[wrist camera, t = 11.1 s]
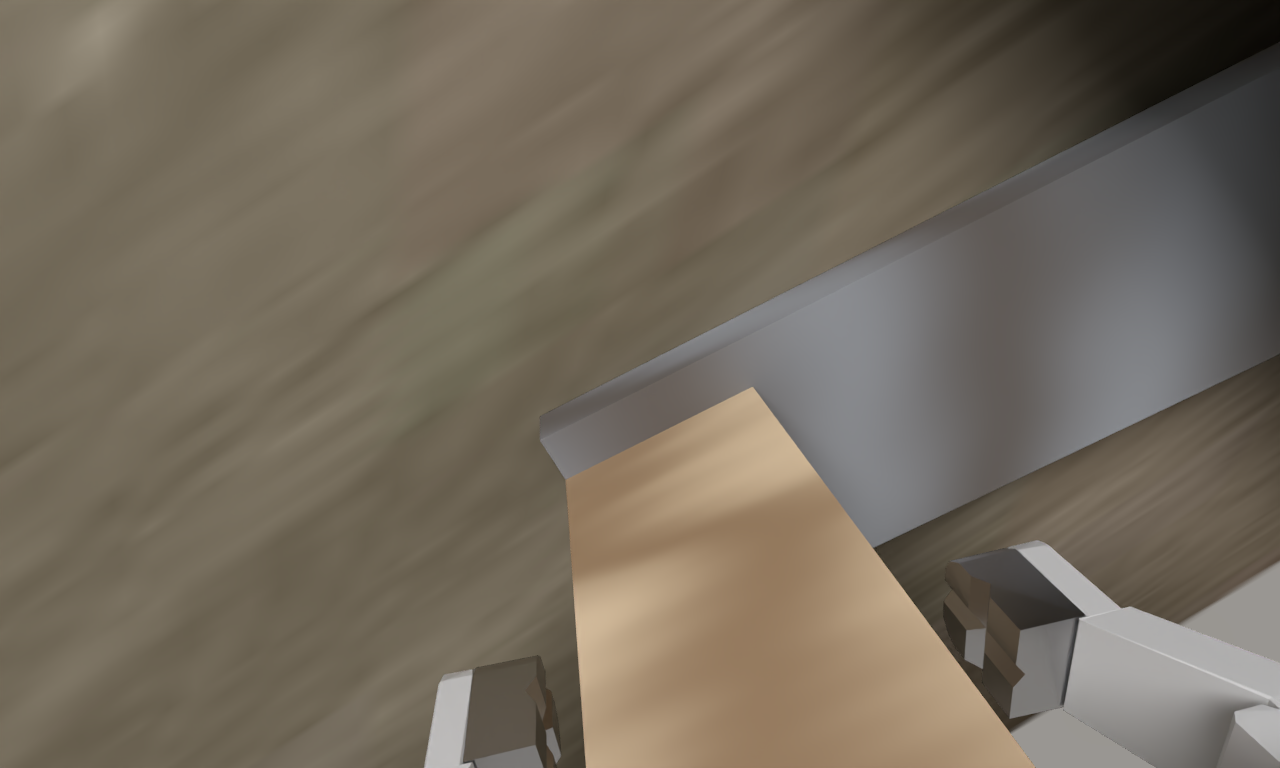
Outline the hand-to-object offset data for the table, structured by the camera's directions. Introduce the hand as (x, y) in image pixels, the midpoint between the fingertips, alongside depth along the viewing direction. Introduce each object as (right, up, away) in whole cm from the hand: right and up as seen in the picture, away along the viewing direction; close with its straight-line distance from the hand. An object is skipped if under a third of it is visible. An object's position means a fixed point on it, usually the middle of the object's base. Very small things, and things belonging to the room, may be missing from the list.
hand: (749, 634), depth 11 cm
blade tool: (+5, +5, +3) cm, 7 cm away
